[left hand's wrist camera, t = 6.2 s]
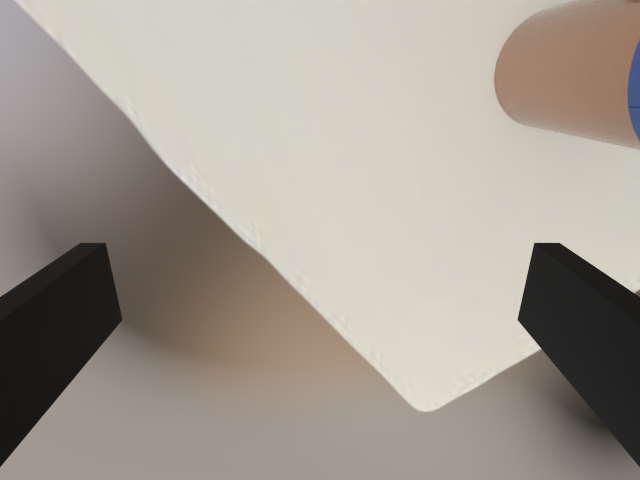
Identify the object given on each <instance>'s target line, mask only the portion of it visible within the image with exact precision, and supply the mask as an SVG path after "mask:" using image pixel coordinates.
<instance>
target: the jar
mask: <svg viewBox="0 0 640 480" xmlns="http://www.w3.org/2000/svg"><path fill="white" fill-rule="evenodd" d="M639 39H640V0H575V1H572V2H569V3H566V4H563V5H559V6H556V7H553V8H550V9H547V10H544V11H541V12H539V13H537V14H535V15H533V16H531V17H530V18H528V19H527V20H526V21H524V22H523V23H522V24H521V25H520V26H519V27H518V28H517V29H516V30H515V31H514V32H513V33H512V34H511V35H510V37H509V38H508V40H507V41H506V43H505V44H504V46H503V48H502V50H501V52H500V55H499V58H498V60H497V65H496V69H495V90H496V94H497V98H498V100H499V103H500V105H501V106H502V108H503V110H504V111H505V112H506V113H507V114H508V115H509V116H510V117H511V118H512V119H513V120H515V121H517V122H518V123H521V124H523V125H526V126H530V127H535V128H539V129H544V130H549V131H553V132H558V133H563V134H567V135H572V136H577V137H581V138H586V139H591V140H595V141H600V142H605V143H609V144H614V145H619V146H623V147H628V148H633V149H637V150H640V141H639V139H638V137H637V135H636V133H635V131H634V129H633V126H632V123H631V120H630V116H629V109H628V93H627V88H628V79H629V72H630V68H631V63H632V59H633V56H634V53H635V50H636V47H637V44H638V42H639Z"/></svg>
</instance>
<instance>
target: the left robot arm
mask: <svg viewBox="0 0 640 480" xmlns="http://www.w3.org/2000/svg"><path fill="white" fill-rule="evenodd" d="M121 321H122V316H121V311H120V307H119V302H118V298H117V293H116V288H115V284H114V279H113V275H112V270H111V266H110V261H109V257H108V252H107V247H106V243H80V244H78V245H77V246H75V247H74V248H72V249H71V250H69V251H68V252H66V253H65V254H63V255H62V256H61V257H59V258H58V259H56V260H55V261H53V262H52V263H50V264H49V265H47V266H46V267H44V268H43V269H41V270H40V271H38V272H37V273H35V274H34V275H32V276H31V277H29V278H28V279H26V280H25V281H23V282H22V283H20V284H19V285H17V286H16V287H15V288H13V289H12V290H10V291H9V292H7V293H6V294H4V295H3V296H1V297H0V467H1V466H2V464H3V463H4V462H5V461H6V459H7V458H8V457H9V456H10V455H11V453H12V452H13V451H14V450H15V449H16V447H17V446H18V445H19V444H20V443H21V441H22V440H23V439H24V438H25V437H26V435H27V434H28V433H29V432H30V430H31V429H32V428H33V427H34V426H35V425H36V423H37V422H38V421H39V420H40V418H41V417H42V416H43V415H44V414H45V412H46V411H47V410H48V409H49V408H50V406H51V405H52V404H53V403H54V402H55V400H56V399H57V398H58V397H59V396H60V394H61V393H62V392H63V391H64V390H65V388H66V387H67V386H68V385H69V384H70V382H71V381H72V380H73V379H74V377H75V376H76V375H77V374H78V373H79V371H80V370H81V369H82V368H83V367H84V365H85V364H86V363H87V362H88V361H89V359H90V358H91V357H92V356H93V355H94V353H95V352H96V351H97V350H98V349H99V347H100V346H101V345H102V344H103V343H104V341H105V340H106V339H107V338H108V337H109V335H110V334H111V333H112V332H113V330H114V329H115V328H116V327H117V326H118V324H119V323H120V322H121ZM518 321H519V322H520V323H521V324H522V326H523V327H524V328H525V329H526V331H527V332H528V333H529V334H530V335H531V337H532V338H533V339H534V340H535V341H536V343H537V344H538V345H539V346H540V347H541V349H542V350H543V351H544V352H545V353H546V355H547V356H548V357H549V358H550V359H551V361H552V362H553V363H554V364H555V365H556V367H557V368H558V369H559V370H560V371H561V373H562V374H563V375H564V376H565V377H566V379H567V380H568V381H569V382H570V384H571V385H572V386H573V387H574V388H575V390H576V391H577V392H578V393H579V394H580V395H581V397H582V398H583V399H584V400H585V402H586V403H587V404H588V405H589V406H590V408H591V409H592V410H593V411H594V412H595V414H596V415H597V416H598V417H599V418H600V420H601V421H602V422H603V423H604V425H605V426H606V427H607V428H608V429H609V431H610V432H611V433H612V434H613V435H614V437H615V438H616V439H617V440H618V441H619V443H620V444H621V445H622V446H623V447H624V449H625V450H626V451H627V452H628V453H629V455H630V456H631V457H632V458H633V459H634V461H635V462H636V463H637V464H638V466H639V467H640V297H639V296H637V295H636V294H634V293H633V292H631V291H630V290H628V289H627V288H625V287H624V286H623V285H621V284H620V283H618V282H617V281H615V280H614V279H612V278H611V277H609V276H608V275H606V274H605V273H603V272H602V271H600V270H599V269H597V268H596V267H594V266H593V265H591V264H590V263H588V262H587V261H585V260H584V259H582V258H581V257H579V256H578V255H577V254H575V253H574V252H572V251H571V250H569V249H568V248H566V247H565V246H563V245H562V244H560V243H534V247H533V252H532V256H531V261H530V266H529V270H528V275H527V279H526V284H525V288H524V293H523V298H522V302H521V307H520V311H519V316H518Z"/></svg>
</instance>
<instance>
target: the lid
mask: <svg viewBox="0 0 640 480" xmlns="http://www.w3.org/2000/svg"><path fill="white" fill-rule="evenodd" d="M627 93H628V109H629V116H630V120H631V123H632V126H633V129H634V131H635V133H636V135H637V137H638V139H639V141H640V39H639V42H638V44H637V47H636V50H635V53H634V56H633V59H632V63H631V68H630V72H629V79H628V88H627Z"/></svg>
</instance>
